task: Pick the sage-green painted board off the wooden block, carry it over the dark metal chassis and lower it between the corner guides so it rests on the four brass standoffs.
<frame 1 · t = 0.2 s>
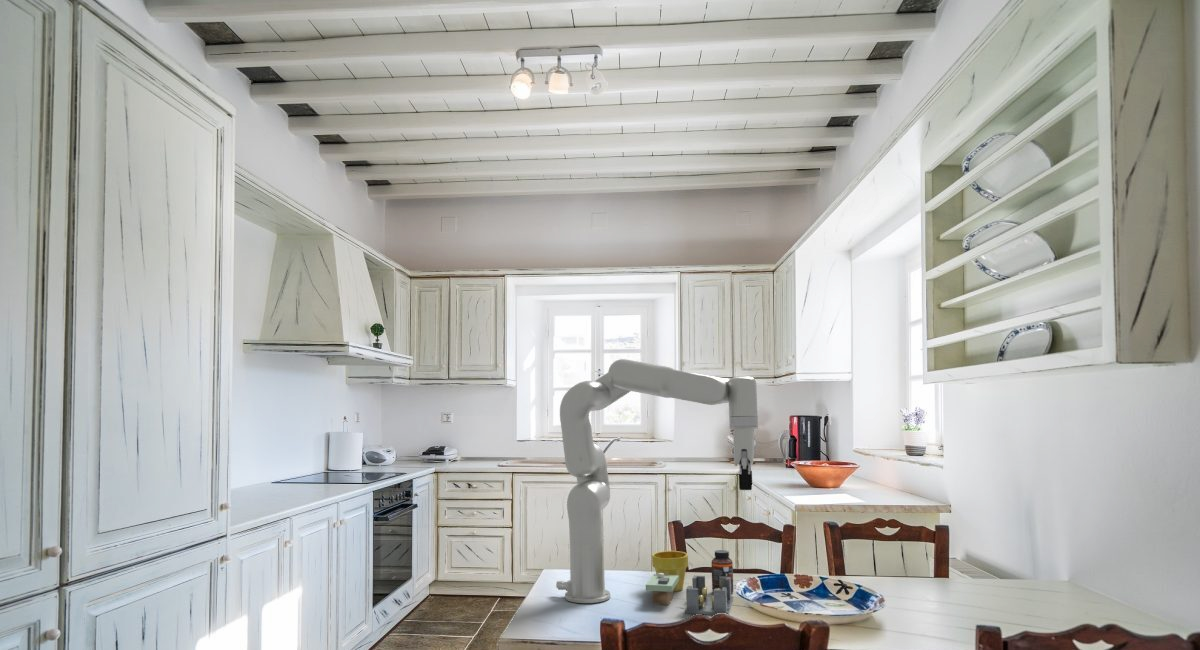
hand: (746, 487, 204), 31 cm above the table, tool pointing down, fingers open, 9 cm apart
chassis: (709, 606, 202), on the table
plant pot: (670, 589, 221), on the table
wooden block: (663, 600, 208), on the table
supplement bottle: (722, 592, 216), on the table
board: (662, 585, 209), point 4 cm above the table, touching wooden block
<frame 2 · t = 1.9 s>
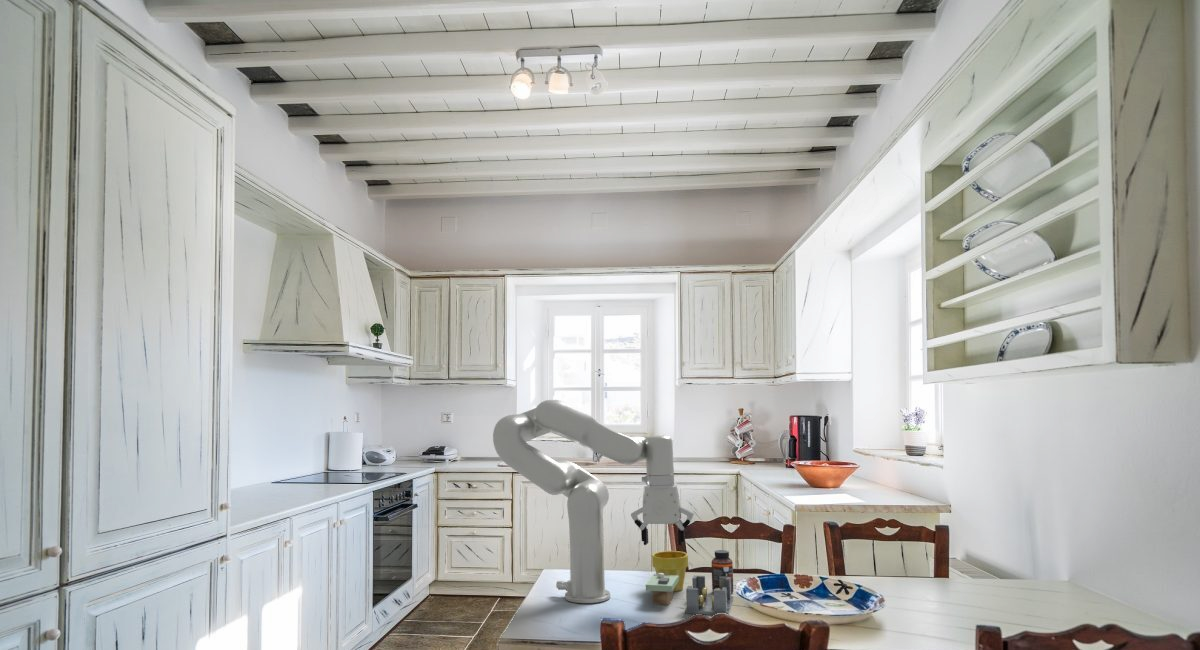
hand: (663, 544, 209), 15 cm above the table, tool pointing down, fingers open, 9 cm apart
nothing on the table moved.
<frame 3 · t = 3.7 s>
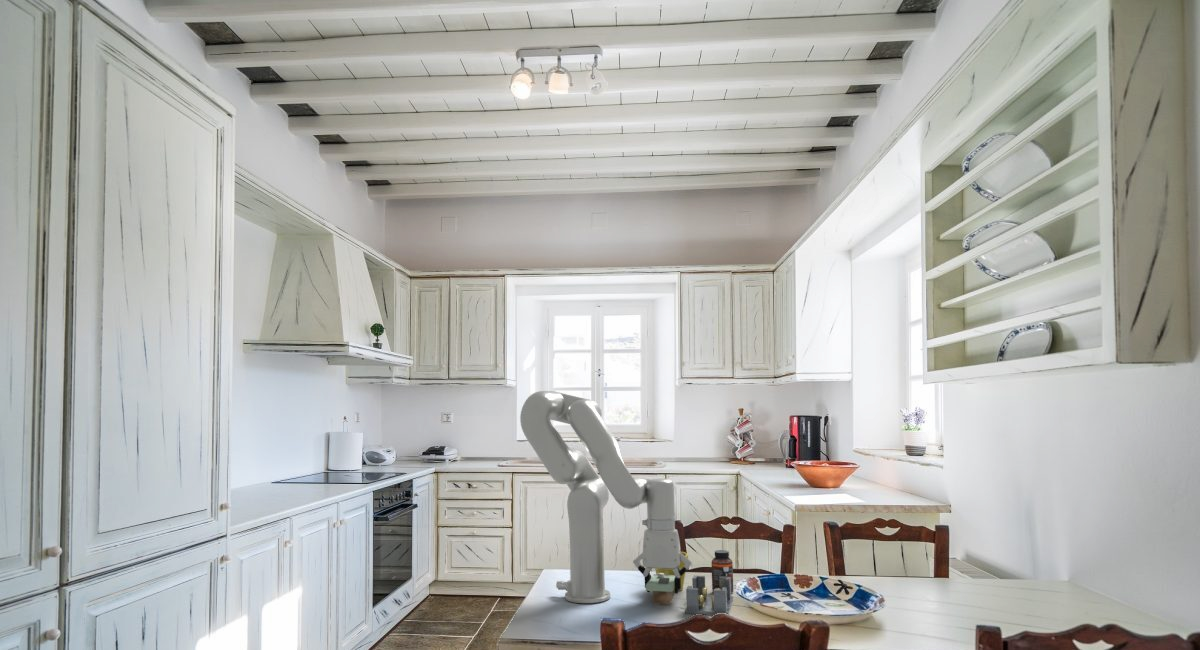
hand: (662, 590, 208), 3 cm above the table, tool pointing down, fingers closed on board, 7 cm apart
board: (662, 585, 209), point 4 cm above the table, touching gripper, wooden block
everything else where it was.
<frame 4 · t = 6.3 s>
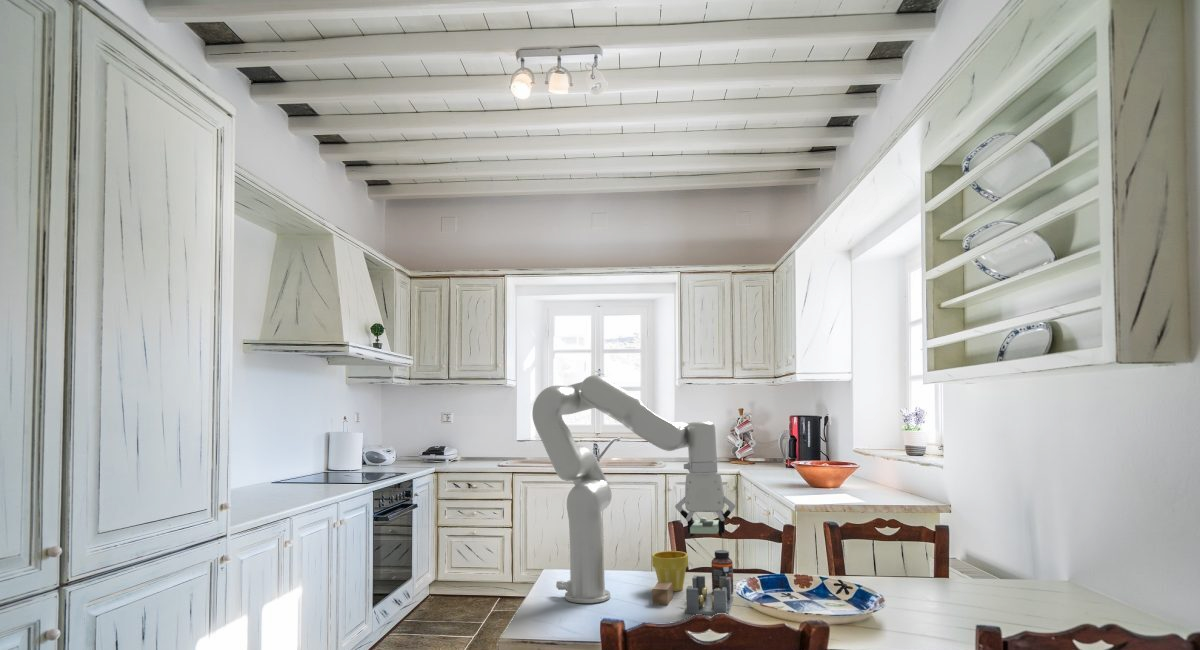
hand: (706, 535, 204), 18 cm above the table, tool pointing down, fingers closed on board, 7 cm apart
board: (706, 529, 204), point 20 cm above the table, touching gripper
everything else where it was.
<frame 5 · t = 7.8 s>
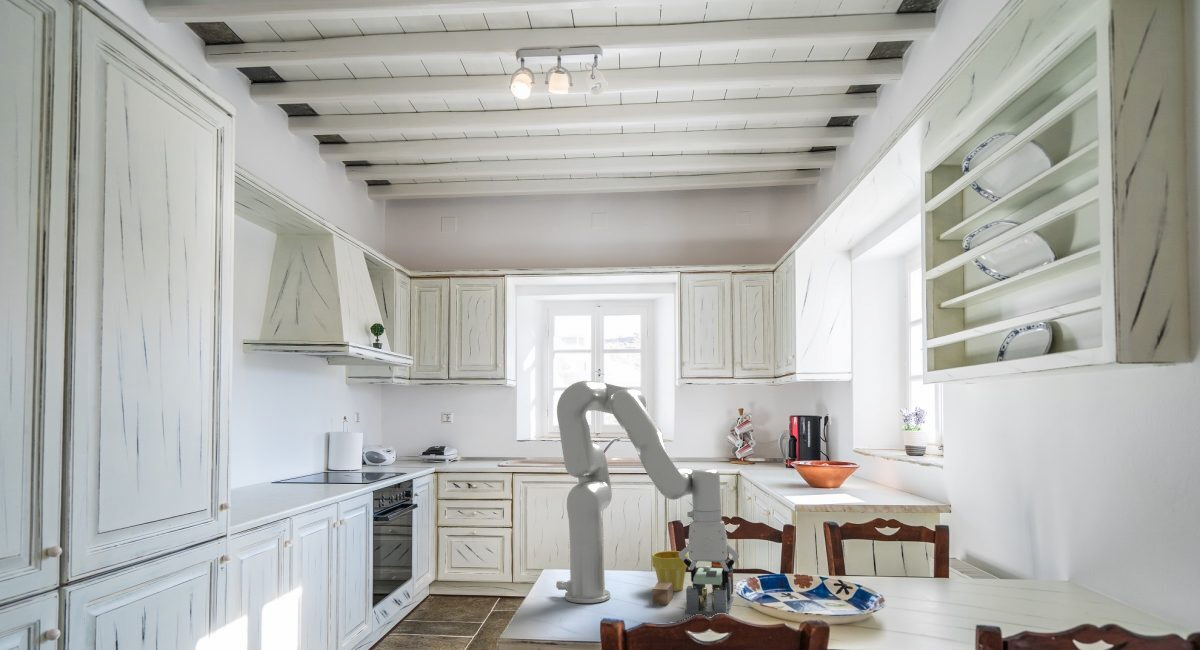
hand: (709, 584, 203), 6 cm above the table, tool pointing down, fingers closed on board, 7 cm apart
board: (709, 578, 203), point 7 cm above the table, touching gripper
everything else where it was.
when the fingers open (4 cm above the table, at t = 9.1 s): board drops 1 cm, resting on chassis.
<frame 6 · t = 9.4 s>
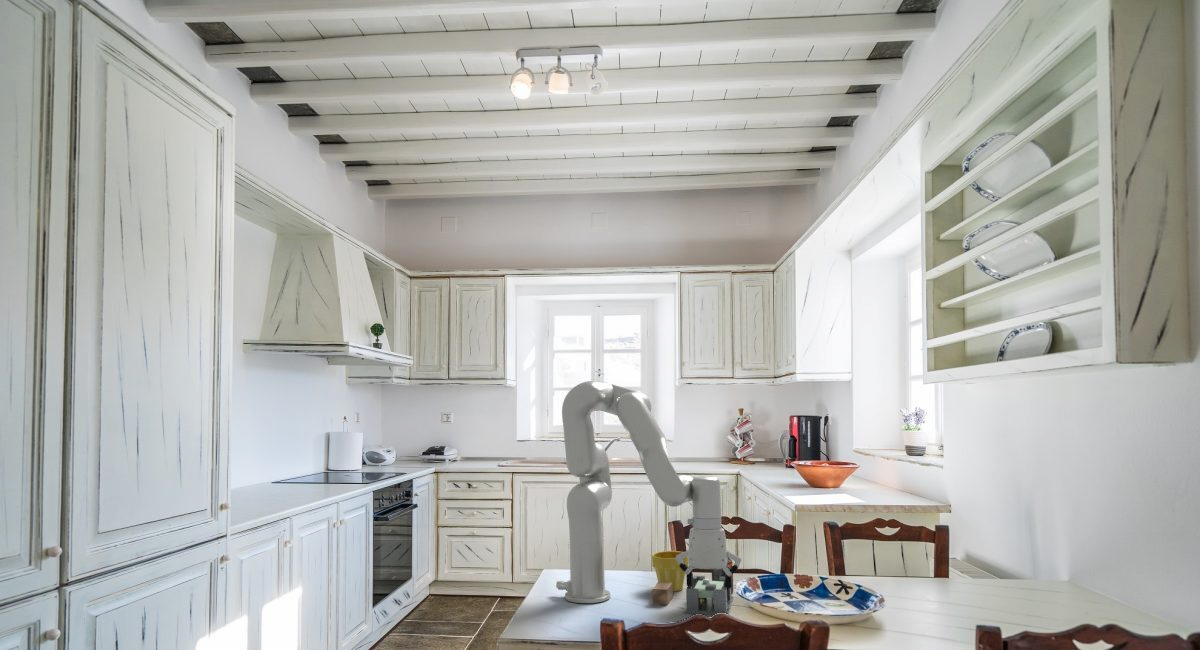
hand: (709, 589, 202), 4 cm above the table, tool pointing down, fingers open, 9 cm apart
board: (708, 592, 202), point 4 cm above the table, touching chassis
everything else where it was.
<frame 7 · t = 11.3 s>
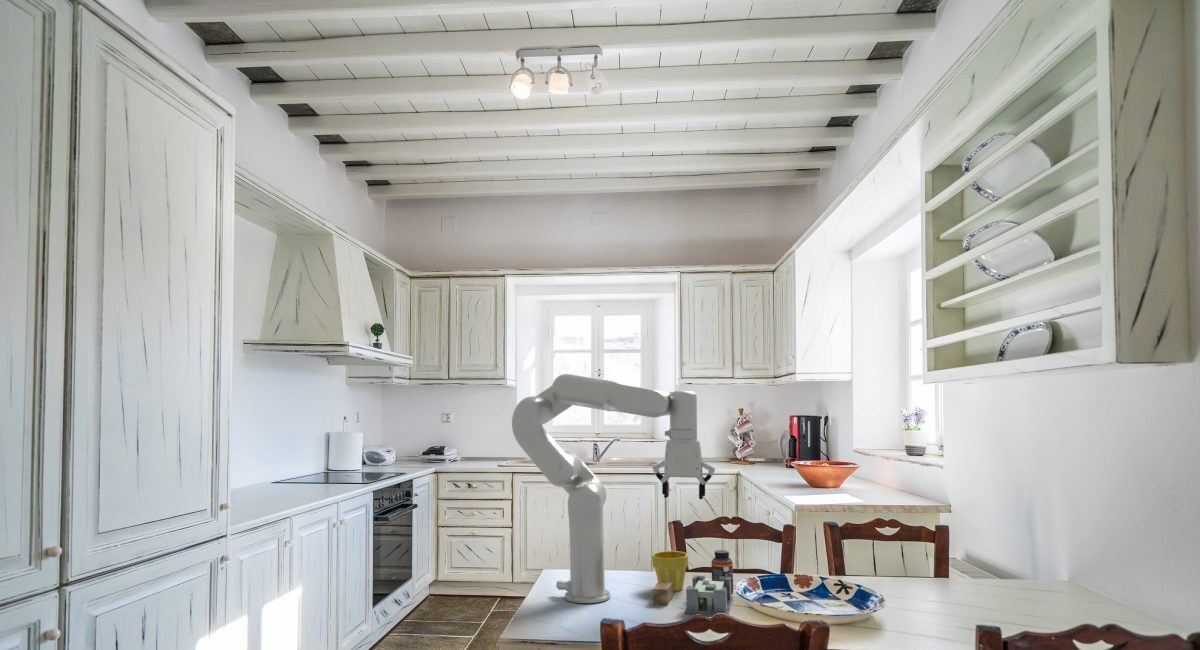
hand: (683, 497, 212), 27 cm above the table, tool pointing down, fingers open, 9 cm apart
nothing on the table moved.
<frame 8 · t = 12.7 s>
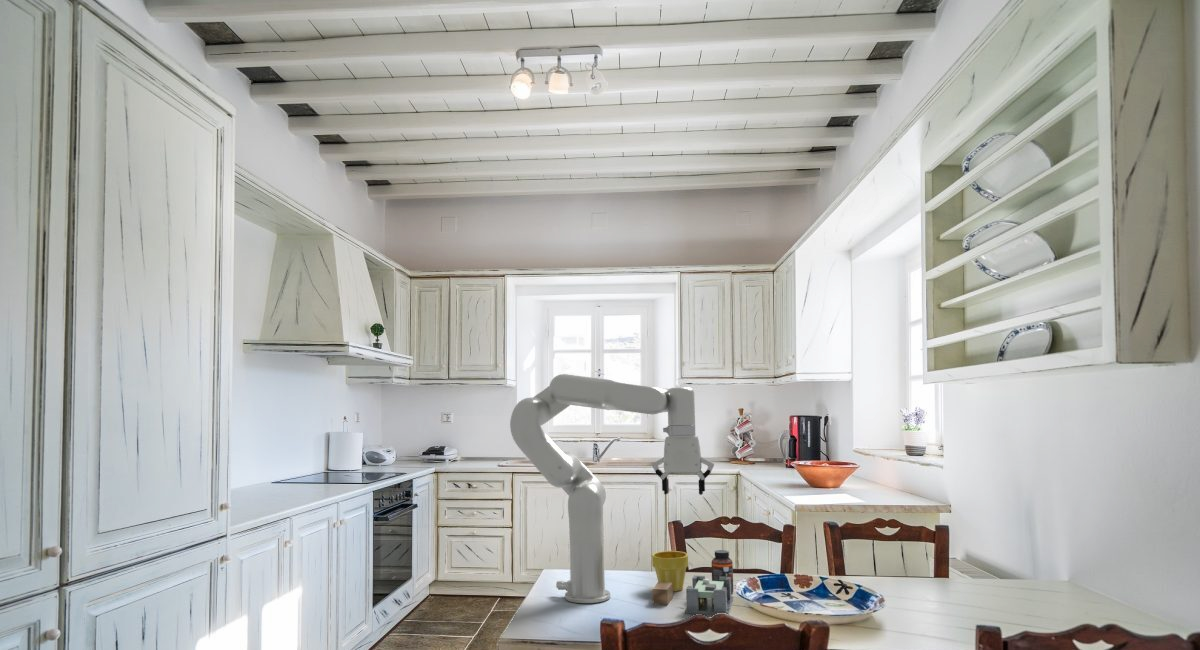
hand: (683, 493, 212), 28 cm above the table, tool pointing down, fingers open, 9 cm apart
nothing on the table moved.
at the end: board 0.1 cm off-centre on the chassis, point 3.6 cm above the chassis's base; board tilted 0°; the gripper is holding nothing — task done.
